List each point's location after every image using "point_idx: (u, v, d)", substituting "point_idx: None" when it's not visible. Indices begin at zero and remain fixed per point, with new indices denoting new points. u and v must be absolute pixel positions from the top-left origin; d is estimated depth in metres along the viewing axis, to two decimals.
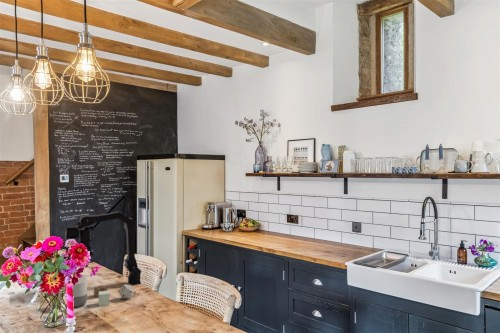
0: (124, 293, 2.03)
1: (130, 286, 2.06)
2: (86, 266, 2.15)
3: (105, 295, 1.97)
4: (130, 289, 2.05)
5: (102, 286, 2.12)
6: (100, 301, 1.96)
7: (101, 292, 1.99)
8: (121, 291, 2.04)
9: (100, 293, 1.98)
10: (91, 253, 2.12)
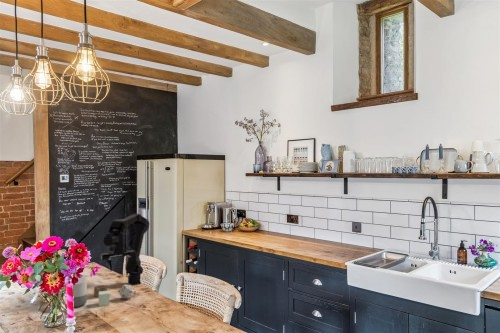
0: (124, 293, 2.03)
1: (130, 286, 2.06)
2: (110, 270, 2.15)
3: (105, 295, 1.97)
4: (130, 289, 2.05)
5: (102, 286, 2.12)
6: (100, 301, 1.96)
7: (101, 292, 1.99)
8: (121, 291, 2.04)
9: (100, 293, 1.98)
10: (101, 258, 2.11)
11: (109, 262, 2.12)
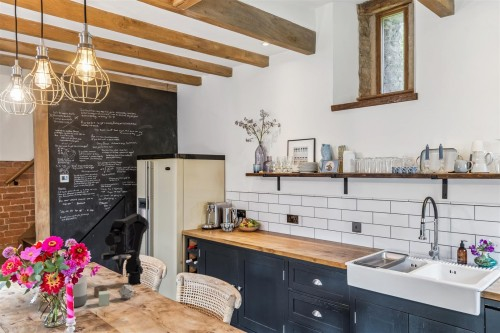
0: (124, 293, 2.03)
1: (130, 286, 2.06)
2: (118, 269, 2.16)
3: (105, 295, 1.96)
4: (130, 289, 2.05)
5: (102, 286, 2.12)
6: (100, 301, 1.96)
7: (101, 292, 1.99)
8: (121, 291, 2.04)
9: (100, 293, 1.98)
10: (102, 258, 2.10)
11: (117, 261, 2.13)
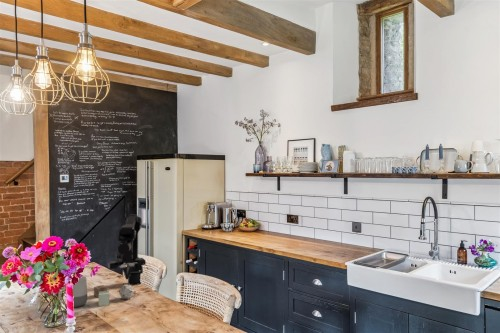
0: (124, 293, 2.03)
1: (130, 286, 2.06)
2: None
3: (105, 295, 1.97)
4: (130, 289, 2.05)
5: (102, 286, 2.12)
6: (100, 301, 1.96)
7: (101, 292, 1.99)
8: (121, 291, 2.04)
9: (100, 293, 1.98)
10: (109, 266, 2.00)
11: (125, 270, 2.04)
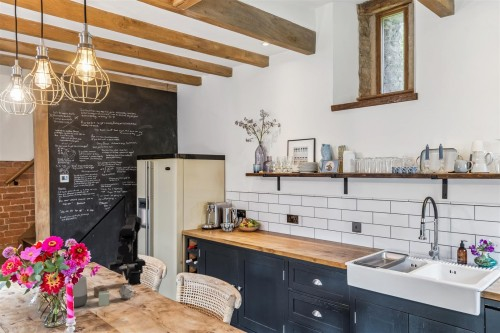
0: (124, 293, 2.03)
1: (130, 286, 2.06)
2: None
3: (105, 295, 1.97)
4: (130, 289, 2.05)
5: (102, 286, 2.12)
6: (100, 301, 1.96)
7: (101, 292, 1.99)
8: (121, 291, 2.04)
9: (100, 293, 1.98)
10: (109, 267, 2.00)
11: (125, 271, 2.04)
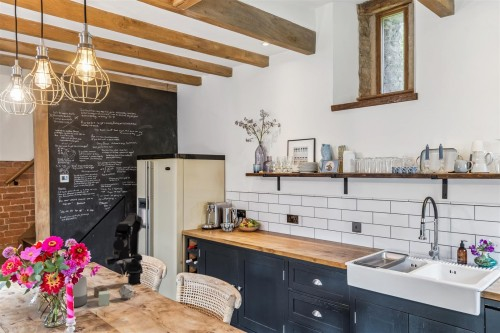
0: (124, 293, 2.03)
1: (130, 286, 2.06)
2: None
3: (105, 295, 1.97)
4: (130, 289, 2.05)
5: (102, 286, 2.12)
6: (100, 301, 1.96)
7: (101, 292, 1.99)
8: (121, 291, 2.04)
9: (100, 293, 1.98)
10: (106, 262, 2.03)
11: (122, 266, 2.07)
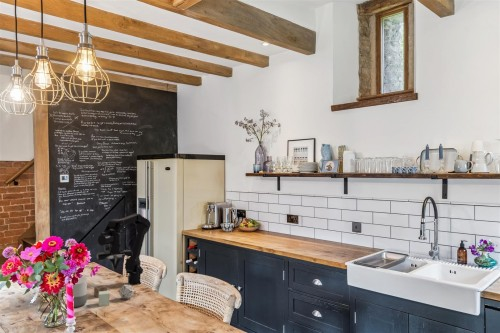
0: (124, 293, 2.03)
1: (130, 286, 2.06)
2: None
3: (105, 295, 1.97)
4: (130, 289, 2.05)
5: (102, 286, 2.12)
6: (100, 301, 1.96)
7: (101, 292, 1.99)
8: (121, 291, 2.04)
9: (100, 293, 1.98)
10: (98, 257, 2.11)
11: (112, 261, 2.15)
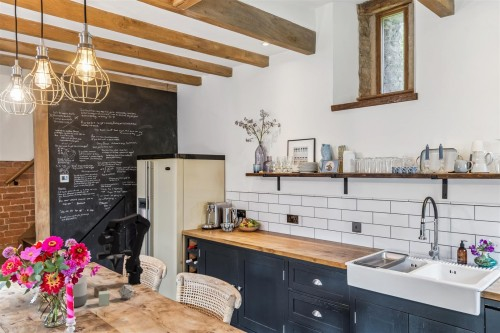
0: (124, 293, 2.03)
1: (130, 286, 2.06)
2: None
3: (105, 295, 1.97)
4: (130, 289, 2.05)
5: (102, 286, 2.12)
6: (100, 301, 1.96)
7: (101, 292, 1.99)
8: (121, 291, 2.04)
9: (100, 293, 1.98)
10: (98, 257, 2.11)
11: (112, 261, 2.15)
